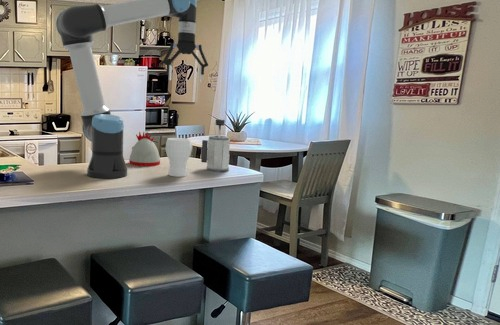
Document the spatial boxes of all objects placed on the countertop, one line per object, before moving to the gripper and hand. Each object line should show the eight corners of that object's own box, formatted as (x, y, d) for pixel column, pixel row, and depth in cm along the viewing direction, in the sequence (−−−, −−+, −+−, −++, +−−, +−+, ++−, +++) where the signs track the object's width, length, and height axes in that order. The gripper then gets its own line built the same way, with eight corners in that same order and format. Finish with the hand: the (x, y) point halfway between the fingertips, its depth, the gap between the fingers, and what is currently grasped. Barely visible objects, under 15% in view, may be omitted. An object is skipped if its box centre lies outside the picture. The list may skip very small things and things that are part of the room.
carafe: (200, 170, 197) (201, 137, 194) (201, 166, 207) (203, 134, 204) (228, 172, 197) (230, 138, 195) (228, 168, 207) (230, 136, 205)
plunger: (210, 162, 198) (212, 119, 195) (211, 159, 204) (213, 118, 201) (224, 163, 198) (227, 120, 195) (225, 160, 205) (227, 119, 201)
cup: (185, 178, 178) (186, 141, 176) (160, 176, 180) (161, 139, 178) (194, 173, 189) (195, 138, 186) (170, 171, 191) (171, 136, 188)
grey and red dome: (130, 160, 211) (131, 129, 208) (160, 161, 213) (161, 130, 211) (128, 166, 197) (128, 132, 195) (159, 166, 200) (160, 133, 197)
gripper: (157, 29, 193) (155, 79, 196) (214, 33, 194) (212, 82, 197) (160, 31, 200) (158, 79, 204) (215, 35, 201) (212, 82, 205)
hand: (185, 81), depth 201 cm, fingers open, 13 cm apart
